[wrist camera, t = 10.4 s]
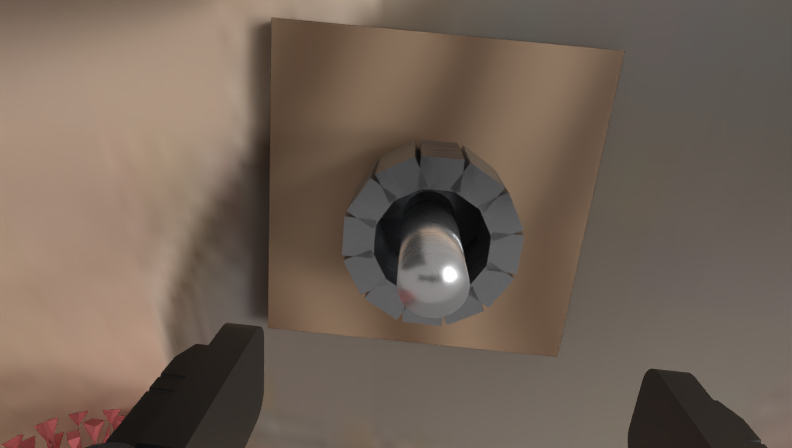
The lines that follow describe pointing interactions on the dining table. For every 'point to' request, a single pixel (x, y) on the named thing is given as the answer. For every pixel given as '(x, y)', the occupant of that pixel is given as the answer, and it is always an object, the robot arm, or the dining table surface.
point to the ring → (437, 170)
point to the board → (414, 120)
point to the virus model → (48, 430)
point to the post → (431, 249)
